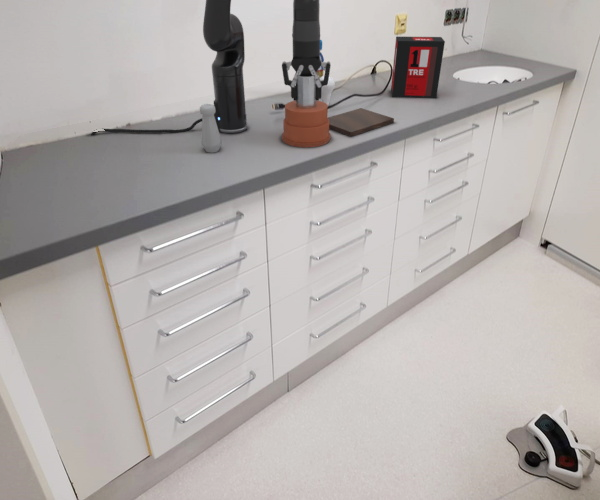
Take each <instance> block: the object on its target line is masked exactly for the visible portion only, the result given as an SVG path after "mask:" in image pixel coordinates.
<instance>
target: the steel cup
mask: <svg viewBox="0 0 600 500" xmlns="http://www.w3.org/2000/svg"><path fill="white" fill-rule="evenodd" d="M316 74H317V73H316ZM295 86H296V100H295V101H296V107H298V108H302V109H311V108H314V107H316V104H317V101H318V100H316V97H317V84H316V80H315V76H299V75H297V81H296V85H295Z"/></svg>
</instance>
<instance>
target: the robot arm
mask: <svg viewBox="0 0 600 500" xmlns="http://www.w3.org/2000/svg"><path fill="white" fill-rule="evenodd" d="M292 1H293V2H292V34H291V37H292V38H291V39H292V59H291V61H282V63H281V70H282V76H283V83H284V85H285V86H289V87H290V97H291V99H293V101H296V81H297V75H299V76H315V80H316V84H317V97H316V100H317V101H320V99H321V88H322V86H324V85H327V84H328V79H329V76H330V71H331V62H330V61H324V62H321V60H320V52H321V51H320V40H321V24H320V23H321V21H320V9H321V8H320V5H321V4H320V0H292ZM231 6H232V0H205V7H204V14H203V15H204V16H203V21H202V22H203V23H202V35H203V39H204V43H205V44H206V46H207V47H208V48H209V50H211V51H213V52H216V54H215V55H216V56H215V59H214V60H213V62H212V64H211V75H212V83H213V93H214V94H213V95H214V99H213V105H214V106H215V110H216V112H215V114H214V117H215V120H216V124H217V127H218V130H219V133H223V134H238V133H241V132H244V131H247V129H248V124H247V123H248V122H247V118H248V117H247V112H246V111H247V109H246V95H245V94H246V93H245V82H244V64H245V59H246V58H245V57H246V55H245V31H244V27H243V24H242V22H241V20H240V19H239V17H238V16H237V15H235V14H233V13H232V12H231ZM320 66H322V67H323V70H324V71H323V72H324V74H323V76H324V80H322V81H321V80H320V78H319V76H318V73H317V71H318V69H319V68H320ZM291 67H292V69H293V70H294V71H295V73H294V75H293V77H292V79H290V78H289V71H290V68H291ZM316 73H317V74H316ZM200 123H202V117H201V118H199V119H197V120H195V121H194V122H193V123H192V124H191V125H190V126H189V127H186V128H181V129H131V128H129V129H128V128H103V129H104V130H105V131H98V132H93V131H92V132H91V133H90V136H95V135H96V134H97V133H101V132H103V133H104V132H105V133H138V134H139V133H140V134H141V133H142V134H146V133H147V134H152V133H153V134H154V133H155V134H157V133H158V134H159V133H160V134H161V133H174V134H175V133H185V132H188V131H192V130H193V129H194V128H195V127H196V126H197V125H198V124H200Z"/></svg>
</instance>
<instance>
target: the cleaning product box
mask: <svg viewBox="0 0 600 500" xmlns="http://www.w3.org/2000/svg"><path fill="white" fill-rule="evenodd" d="M445 43H446V41H445V40H444V38H443V37H442V36H395V46H394V54H393V55H394V56H393V65H392V75H391V85H390V93H391V97H392V98H407V99H409V98H411V99H437V96H438V89H439V83H440V78H441V77H440V76H441V71H442V70H441V69H442V63H443V56H444V50H445Z"/></svg>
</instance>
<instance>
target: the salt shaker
mask: <svg viewBox="0 0 600 500" xmlns="http://www.w3.org/2000/svg"><path fill="white" fill-rule="evenodd" d="M215 112H216V110H215V106H214V104H212V103H204V104H201V105H200V106H199V113H200V115H202V117H201V118H202V122H201V138H200V144H201V146H202V147H203V149H204V150H205V152H206V153H211V154H212V153H216V152H219V150H220V148H221V145H222V138H221V134H220V132H219V130H218V127H217V124H216V120H215V117H214V114H215Z"/></svg>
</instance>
